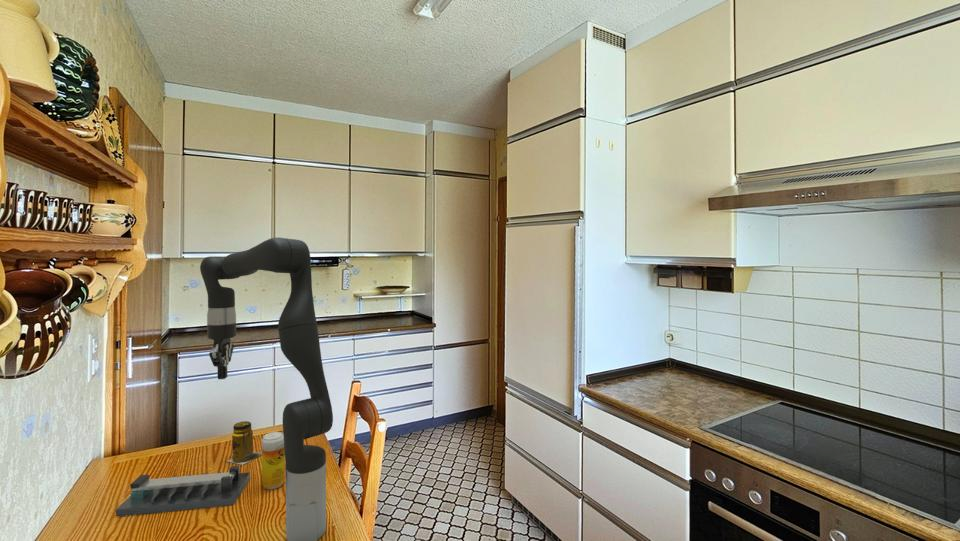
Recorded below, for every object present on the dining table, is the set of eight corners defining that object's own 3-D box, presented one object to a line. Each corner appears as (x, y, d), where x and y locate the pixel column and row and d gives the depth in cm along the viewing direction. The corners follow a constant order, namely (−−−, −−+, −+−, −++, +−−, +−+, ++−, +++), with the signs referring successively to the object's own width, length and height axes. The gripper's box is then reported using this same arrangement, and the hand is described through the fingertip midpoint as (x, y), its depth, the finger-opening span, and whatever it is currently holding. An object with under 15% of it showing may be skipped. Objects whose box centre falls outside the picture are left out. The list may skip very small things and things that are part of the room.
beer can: (275, 491, 123) (275, 440, 123) (257, 489, 125) (256, 438, 124) (289, 480, 129) (288, 432, 129) (271, 478, 130) (271, 430, 130)
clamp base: (233, 505, 116) (233, 483, 116) (116, 516, 111) (115, 494, 111) (250, 478, 130) (249, 459, 130) (146, 488, 125) (146, 468, 124)
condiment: (226, 461, 141) (225, 426, 141) (248, 450, 149) (247, 417, 148) (242, 465, 138) (242, 429, 138) (263, 454, 146) (263, 419, 146)
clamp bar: (230, 484, 120) (230, 475, 120) (130, 493, 115) (130, 484, 115) (236, 475, 125) (236, 466, 125) (141, 483, 120) (141, 475, 120)
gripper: (227, 325, 123) (227, 384, 124) (242, 318, 136) (243, 372, 137) (198, 325, 122) (199, 385, 122) (217, 319, 135) (217, 373, 135)
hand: (222, 378), depth 129 cm, fingers closed
